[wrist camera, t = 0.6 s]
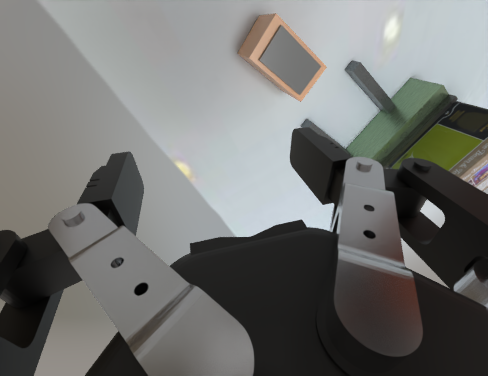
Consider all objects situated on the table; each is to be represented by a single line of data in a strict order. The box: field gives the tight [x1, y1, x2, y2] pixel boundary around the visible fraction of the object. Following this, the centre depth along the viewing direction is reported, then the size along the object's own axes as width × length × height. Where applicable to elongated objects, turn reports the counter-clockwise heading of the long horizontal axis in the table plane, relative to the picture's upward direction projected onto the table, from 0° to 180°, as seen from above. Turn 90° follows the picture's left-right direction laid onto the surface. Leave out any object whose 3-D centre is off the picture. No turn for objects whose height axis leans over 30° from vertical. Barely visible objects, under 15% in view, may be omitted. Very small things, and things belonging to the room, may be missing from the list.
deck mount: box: [301, 61, 457, 169], centre depth 38 cm, size 22×15×7 cm
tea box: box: [386, 101, 488, 191], centre depth 41 cm, size 15×10×15 cm, turn 142°
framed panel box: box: [238, 14, 327, 102], centre depth 29 cm, size 5×9×6 cm, turn 54°
